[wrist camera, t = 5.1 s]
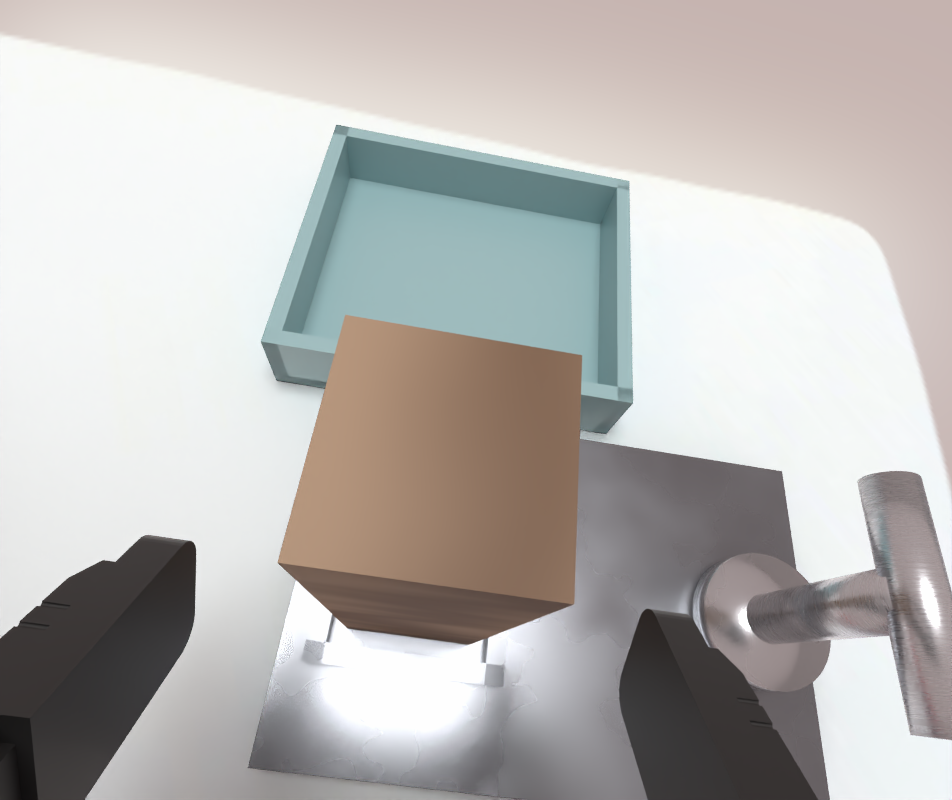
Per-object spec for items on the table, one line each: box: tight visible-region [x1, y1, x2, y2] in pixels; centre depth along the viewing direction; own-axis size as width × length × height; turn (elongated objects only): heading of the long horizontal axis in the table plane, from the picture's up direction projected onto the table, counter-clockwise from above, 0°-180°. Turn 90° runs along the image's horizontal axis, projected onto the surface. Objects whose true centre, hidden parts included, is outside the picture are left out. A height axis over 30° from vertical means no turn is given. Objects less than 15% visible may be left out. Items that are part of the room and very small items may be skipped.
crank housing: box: [248, 439, 952, 800], centre depth 16 cm, size 18×12×9 cm, turn 83°
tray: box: [261, 125, 633, 434], centre depth 25 cm, size 14×12×3 cm
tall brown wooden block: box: [278, 315, 582, 645], centre depth 14 cm, size 4×4×12 cm
